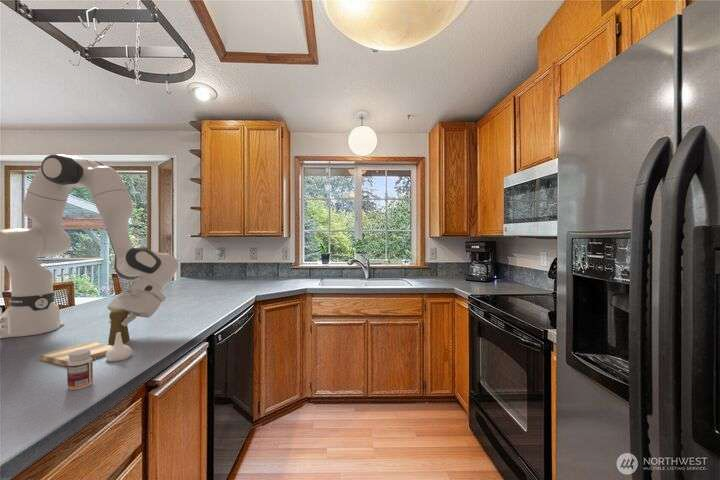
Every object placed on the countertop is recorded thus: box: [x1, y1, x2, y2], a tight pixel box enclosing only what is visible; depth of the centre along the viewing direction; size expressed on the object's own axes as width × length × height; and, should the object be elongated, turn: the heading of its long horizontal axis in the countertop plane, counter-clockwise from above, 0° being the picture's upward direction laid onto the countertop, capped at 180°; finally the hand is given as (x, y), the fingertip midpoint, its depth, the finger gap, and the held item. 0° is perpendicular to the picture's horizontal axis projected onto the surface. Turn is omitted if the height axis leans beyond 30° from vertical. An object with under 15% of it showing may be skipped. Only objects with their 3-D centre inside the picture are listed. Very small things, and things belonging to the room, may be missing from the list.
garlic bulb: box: [105, 332, 133, 363], centre depth 98 cm, size 6×6×8 cm
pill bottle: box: [66, 349, 94, 391], centre depth 80 cm, size 5×5×8 cm
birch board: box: [40, 340, 114, 367], centre depth 100 cm, size 14×13×2 cm
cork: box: [107, 309, 130, 345], centre depth 113 cm, size 6×6×11 cm
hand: (116, 324), depth 113 cm, fingers closed on cork, 4 cm apart
